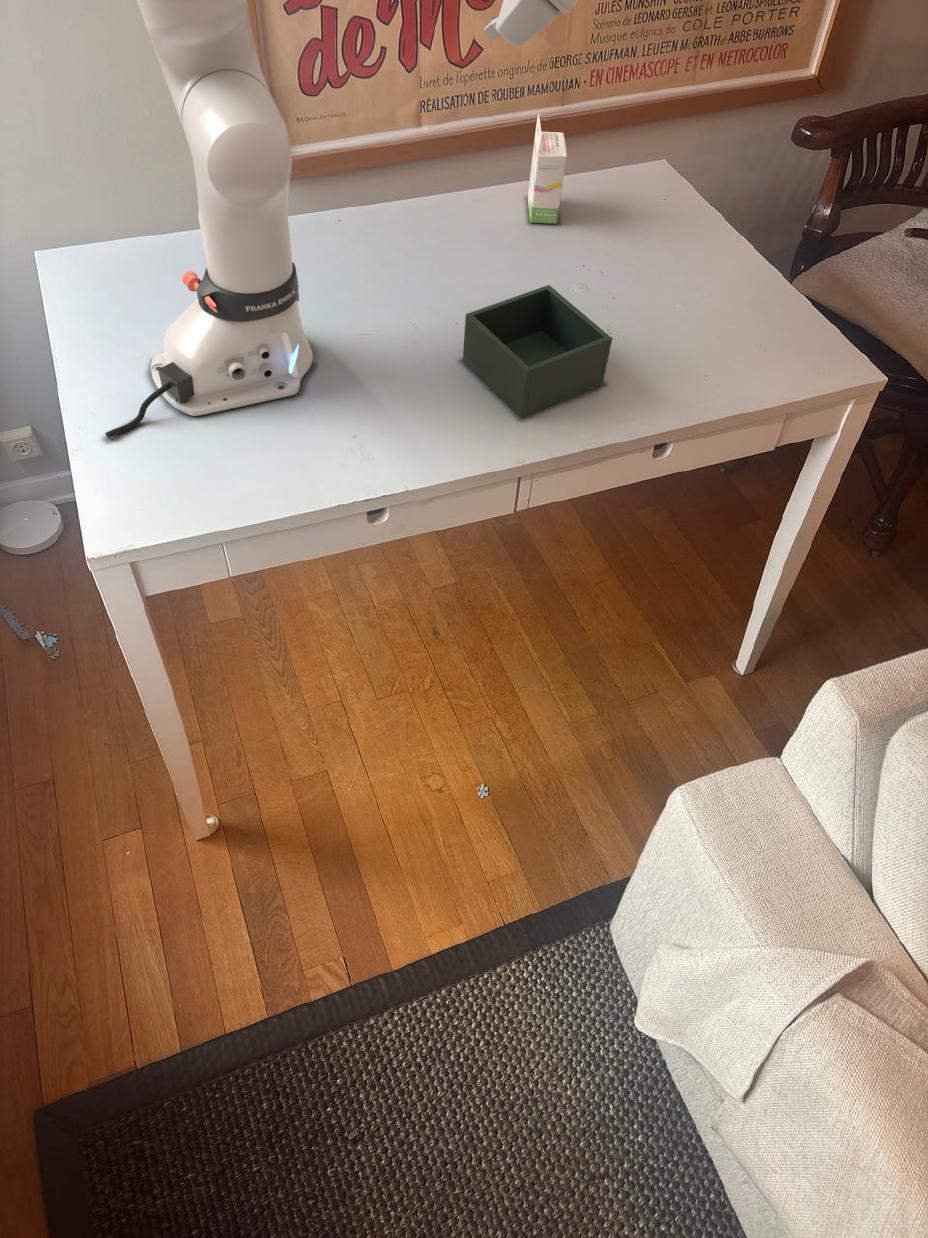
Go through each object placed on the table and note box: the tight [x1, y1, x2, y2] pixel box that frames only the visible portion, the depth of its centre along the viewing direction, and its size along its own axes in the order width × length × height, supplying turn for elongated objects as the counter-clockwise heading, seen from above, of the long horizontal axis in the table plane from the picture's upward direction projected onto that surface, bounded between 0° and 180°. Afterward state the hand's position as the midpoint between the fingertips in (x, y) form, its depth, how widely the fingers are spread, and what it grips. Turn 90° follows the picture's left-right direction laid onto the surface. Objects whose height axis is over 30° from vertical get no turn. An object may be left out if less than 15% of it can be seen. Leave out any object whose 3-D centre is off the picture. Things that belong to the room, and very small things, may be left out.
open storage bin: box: [462, 284, 613, 419], centre depth 136 cm, size 15×15×8 cm
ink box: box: [527, 113, 568, 225], centre depth 161 cm, size 9×5×15 cm, turn 0°
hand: (496, 6), depth 128 cm, fingers open, 8 cm apart
